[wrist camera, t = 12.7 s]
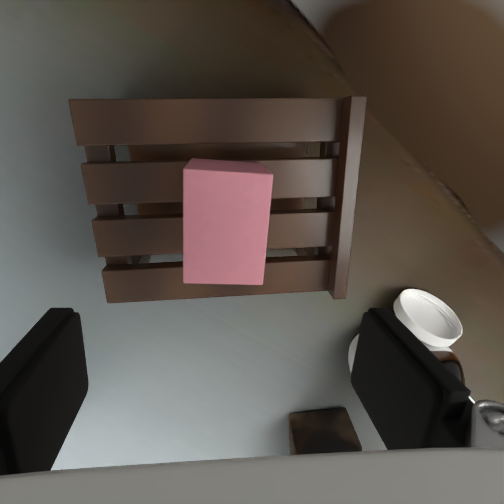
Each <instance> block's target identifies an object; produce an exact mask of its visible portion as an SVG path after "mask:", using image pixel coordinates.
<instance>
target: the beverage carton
mask: <svg viewBox="0 0 504 504" xmlns="http://www.w3.org/2000/svg"><path fill="white" fill-rule="evenodd" d="M289 440H290V455H304V454H323V453H341V452H360V451H362V446H361V444H360V442H359V439H358V437H357V434H356V432H355V430H354V427H353V425H352V422H351V420H350V417H349V415H348V413H347V410H346V408H335V409H329V410H320V411H310V412H301V413H291V414H290V415H289Z"/></svg>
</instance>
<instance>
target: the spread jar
mask: <svg viewBox="0 0 504 504" xmlns="http://www.w3.org/2000/svg"><path fill="white" fill-rule="evenodd" d="M394 312H395V314H396V317H397V318H398V319H399V320H400V321H401V322H402V323H403V324H404V325H405V326H406V327H407V328H408V329H409V330H410V331H411V332H412V333H413V334H414V335H415V336H416V337H417V338H418V339H419V340H420V341H421V342H422V343H423V344H424V345H425V346H426V347H427V348H428V349H429V350H430V351H431V352H432V353H433V354H434V355H435V356H436V357H437V358H438V359H439V360H440V361H441V362H442V363H443V364H444V365H445V366H446V367H447V368H448V369H449V370H450V371H451V372H452V373H453V374H454V375H455V376H456V377H457V378H458V379H459V380H460V381H461V382H462V383H463V384H464V385H465V378H464V373H463V369H462V366H461V363H460V362H459V360H458V358H457V357H456V355H455V354H454V353H453V352H452V350H451V349H450V348H449V347H448V346H450V345H451V344H453V343H454V342H455V341H456V340H457V339H458V338H459V337H460V336H461V334H462V325H461V323H460V321H459V319H458V317H457V316H456V314H455V313H454V312H453V311H452V310H451V309H450V308H449V307H448V306H447V305H446V304H445V303H444V302H442V301H441V300H440V299H438V298H437V297H435V296H433V295H431V294H429V293H427V292H425V291H422V290H418V289H406V290H404V291H403V292H402V293H401V294H400V295H399V296H398V297H397V299H396V300H395V302H394ZM359 332H360V330H359V331H358V332H357V333H356V334H355V336H354V337H353V339H352V341H351V343H350V347H349V353H348V362H349V368H350V372H351V371H352V367H353V362H354V357H355V352H356V347H357V342H358V337H359ZM469 399H470V400H471V401H472V402H473V403H475V402H474V401H473V400H472V399H471V397H470V396H469Z"/></svg>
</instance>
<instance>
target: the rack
mask: <svg viewBox="0 0 504 504" xmlns="http://www.w3.org/2000/svg"><path fill="white" fill-rule="evenodd" d="M366 99H367V96H349V97H345V98H178V99H69V100H68V101H69V106H70V111H71V117H72V122H73V127H74V132H75V137H76V143H77V146H85V152H86V157H87V162H86V163H82V164H81V169H82V174H83V179H84V184H85V189H86V194H87V200H88V204H89V205H96V211H97V217H96V218H95V219H93V220H92V226H93V231H94V237H95V242H96V247H97V252H98V257H105V259H106V266H105V267H104V269H103V270H102V277H103V282H104V287H105V293H106V298H107V303H123V302H140V301H157V300H174V299H192V298H209V297H226V296H243V295H260V294H277V293H294V292H312V291H328V292H329V293H330V295H331V296H332V298H333V299H345V298H346V293H347V283H348V273H349V264H350V254H351V244H352V235H353V225H354V215H355V206H356V196H357V186H358V177H359V167H360V157H361V148H362V138H363V128H364V119H365V109H366ZM307 142H321V145H320V157H306V151H307ZM115 145H128V146H129V153H130V160H131V161H116V156H115V150H114V146H115ZM192 158H196V159H211V160H226V161H241V162H256V163H260V164H262V165H263V166H264V167H265V168H266V169H267V170H269V171H270V172H271V173H272V174H273V184H272V195H271V205H270V216H269V226H268V236H267V247H266V249H285V248H295V251H296V253H297V255H298V256H284V257H265V268H264V278H263V284H262V285H241V284H196V283H183V261H181V262H160V263H148V262H149V260H150V258H151V255H154V254H176V253H183V169H184V168H185V166H186V165H187V164H188V162H189V161H190V160H191V159H192ZM304 198H317V209H304ZM136 203H137V210H138V215H125V214H124V208H123V204H136Z"/></svg>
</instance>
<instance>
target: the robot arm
mask: <svg viewBox="0 0 504 504" xmlns="http://www.w3.org/2000/svg"><path fill="white" fill-rule="evenodd" d="M351 383H352V386H353V388H354V390H355V392H356V393H357V395H358V397H359V399H360V401H361V402H362V404H363V406H364V408H365V410H366V411H367V413H368V415H369V417H370V419H371V420H372V422H373V424H374V426H375V428H376V429H377V431H378V433H379V435H380V437H381V439H382V440H383V442H384V444H385V446H386V448H387V449H388V450H379V451H360V452H341V453H323V454H304V455H287V456H270V457H253V458H236V459H219V460H203V461H187V462H172V463H156V464H141V465H126V466H110V467H95V468H81V469H67V470H53V471H50V470H51V468H52V466H53V464H54V462H55V459H56V457H57V455H58V453H59V451H60V449H61V447H62V445H63V443H64V441H65V438H66V436H67V434H68V432H69V430H70V428H71V426H72V424H73V422H74V420H75V417H76V415H77V413H78V411H79V409H80V407H81V405H82V403H83V401H84V399H85V396H86V394H87V391H88V375H87V367H86V359H85V351H84V343H83V335H82V327H81V319H80V315H79V313H78V312H74V310H73V309H72V308H50V309H49V310H48V311H47V312H46V313H45V314H44V315H43V317H42V318H41V319H40V320H39V321H38V322H37V323H36V324H35V325H34V326H33V328H32V329H31V330H30V331H29V332H28V333H27V334H26V335H25V336H24V337H23V338H22V340H21V341H20V342H19V343H18V344H17V345H16V346H15V347H14V348H13V349H12V351H11V352H10V353H9V354H8V355H7V356H6V357H5V358H4V359H3V360H2V362H1V363H0V504H504V404H503V403H499V402H496V401H491V400H479V401H477V402H475V403H473V402H472V401H471V400H470V399H469V395H470V392H471V391H470V390H469V389H468V388H467V387H466V386H465V385H464V384H463V383H462V382H461V381H460V380H459V379H458V378H457V377H456V376H455V375H454V374H453V373H452V372H451V371H450V370H449V369H448V368H447V367H446V366H445V365H444V364H443V363H442V362H441V361H440V360H439V359H438V358H437V357H436V356H435V355H434V354H433V353H432V352H431V351H430V350H429V349H428V348H427V347H426V346H425V345H424V344H423V343H422V342H421V341H420V340H419V339H418V338H417V337H416V336H415V335H414V334H413V333H412V332H411V331H410V330H409V329H408V328H407V327H406V326H405V325H404V324H403V323H402V322H401V321H400V320H399V319H398V318H397V317H396V316H395V315H394V314H393V313H392V312H391V311H390V310H389V309H388V308H370V309H369V310H368V312H365V313H364V314H363V318H362V323H361V327H360V332H359V337H358V342H357V347H356V352H355V357H354V362H353V367H352V371H351Z"/></svg>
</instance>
